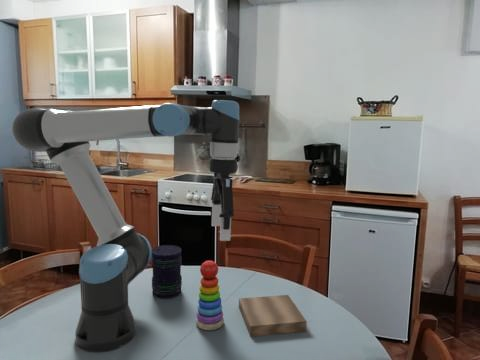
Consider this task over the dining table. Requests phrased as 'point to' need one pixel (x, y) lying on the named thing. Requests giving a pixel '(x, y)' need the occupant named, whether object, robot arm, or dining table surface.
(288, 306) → the walnut base
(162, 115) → the robot arm
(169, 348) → the dining table surface
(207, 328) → the stacking toy
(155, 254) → the storage jar
